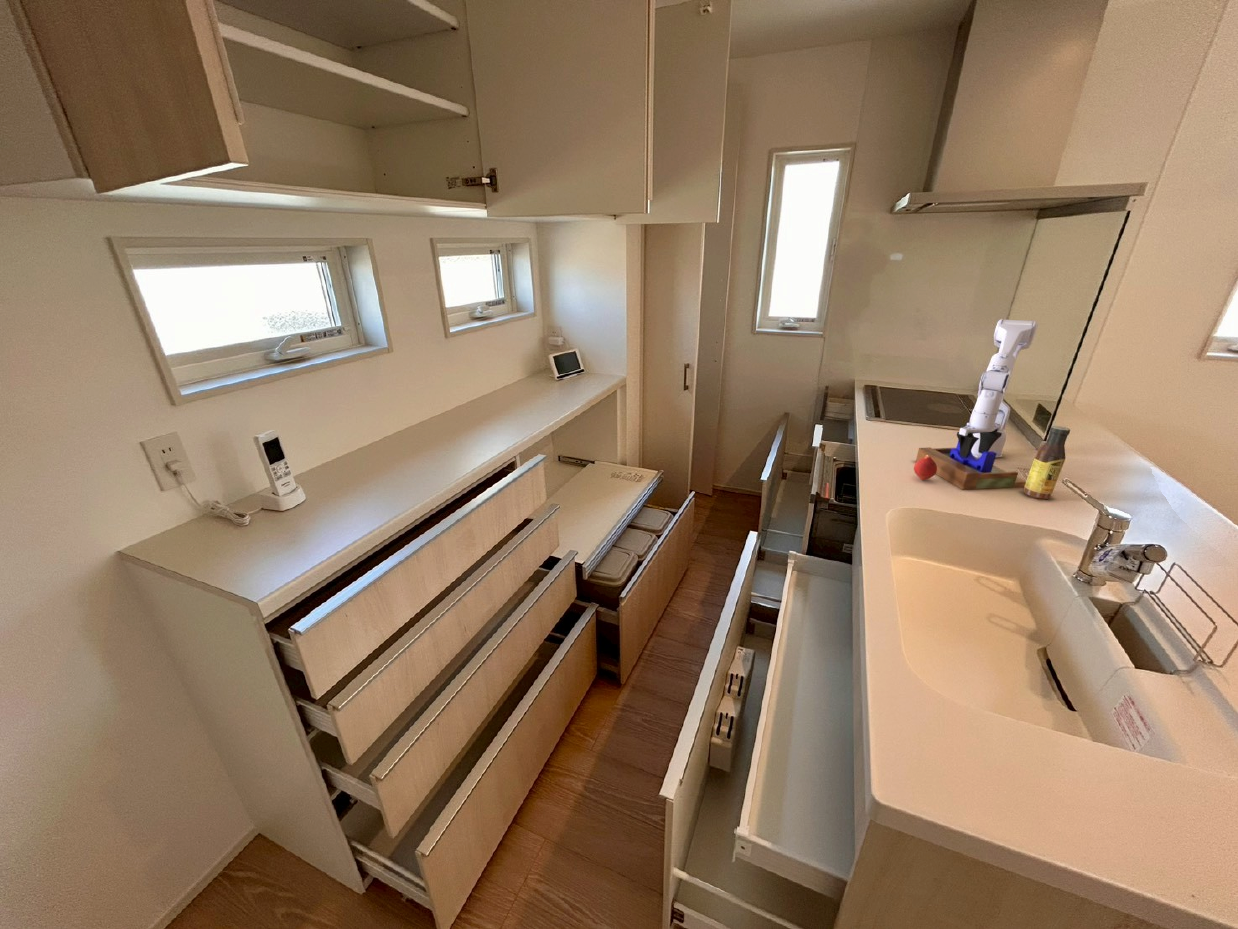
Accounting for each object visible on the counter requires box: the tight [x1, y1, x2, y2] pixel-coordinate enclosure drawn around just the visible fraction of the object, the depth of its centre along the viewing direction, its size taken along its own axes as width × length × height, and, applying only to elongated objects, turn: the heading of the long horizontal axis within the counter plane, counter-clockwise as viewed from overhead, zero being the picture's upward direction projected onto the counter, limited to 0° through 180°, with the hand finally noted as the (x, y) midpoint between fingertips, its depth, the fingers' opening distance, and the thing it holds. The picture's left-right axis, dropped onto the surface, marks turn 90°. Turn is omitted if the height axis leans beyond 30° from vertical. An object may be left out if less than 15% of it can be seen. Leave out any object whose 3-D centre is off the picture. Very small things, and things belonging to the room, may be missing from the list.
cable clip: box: [949, 439, 997, 472], centre depth 151 cm, size 12×4×6 cm, turn 3°
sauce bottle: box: [1023, 425, 1071, 500], centre depth 136 cm, size 7×6×20 cm
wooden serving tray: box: [915, 447, 1026, 490], centre depth 153 cm, size 20×21×5 cm
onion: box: [913, 455, 937, 481], centre depth 148 cm, size 6×6×8 cm
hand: (973, 454), depth 151 cm, fingers open, 7 cm apart
